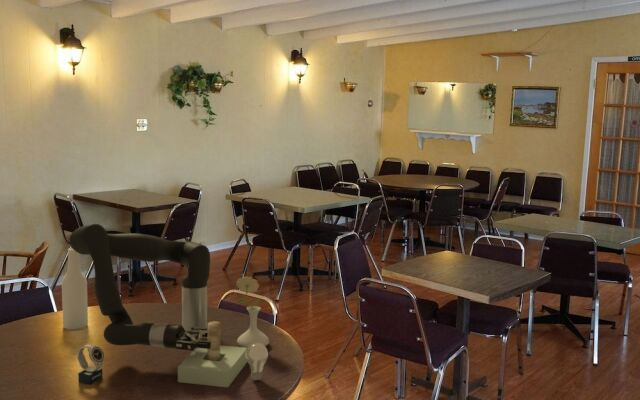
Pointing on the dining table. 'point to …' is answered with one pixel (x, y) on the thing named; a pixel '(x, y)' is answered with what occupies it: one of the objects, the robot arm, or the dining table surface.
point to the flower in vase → (252, 333)
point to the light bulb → (256, 359)
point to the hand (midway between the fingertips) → (215, 340)
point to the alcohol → (74, 294)
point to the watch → (90, 373)
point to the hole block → (212, 367)
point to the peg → (214, 341)
